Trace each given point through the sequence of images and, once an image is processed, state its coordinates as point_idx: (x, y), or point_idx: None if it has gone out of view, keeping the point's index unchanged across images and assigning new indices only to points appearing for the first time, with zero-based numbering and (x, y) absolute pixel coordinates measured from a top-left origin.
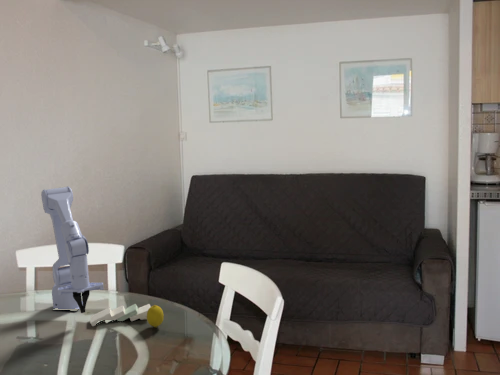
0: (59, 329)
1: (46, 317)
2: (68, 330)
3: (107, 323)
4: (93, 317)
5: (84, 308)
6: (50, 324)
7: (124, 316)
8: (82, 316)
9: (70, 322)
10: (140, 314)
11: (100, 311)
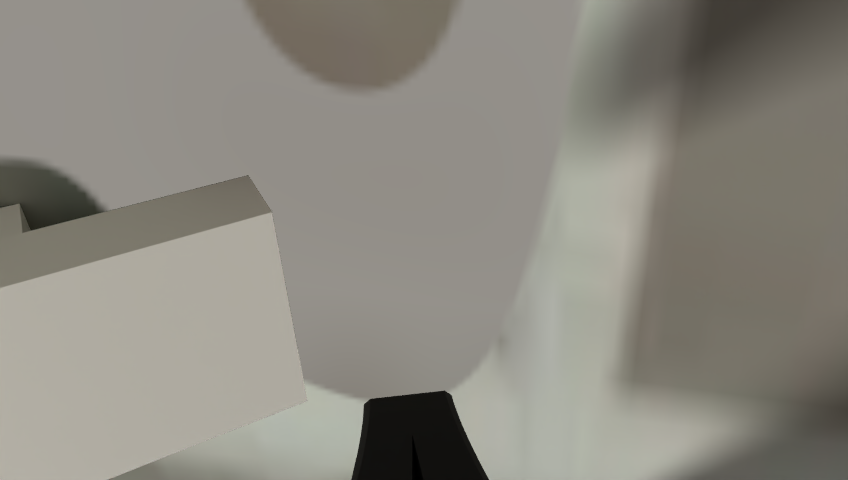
0: (744, 189)
1: (817, 470)
2: (625, 131)
3: None
4: (243, 351)
5: (371, 472)
6: (819, 334)
7: None
8: None
9: (581, 343)
10: None
11: (138, 466)
